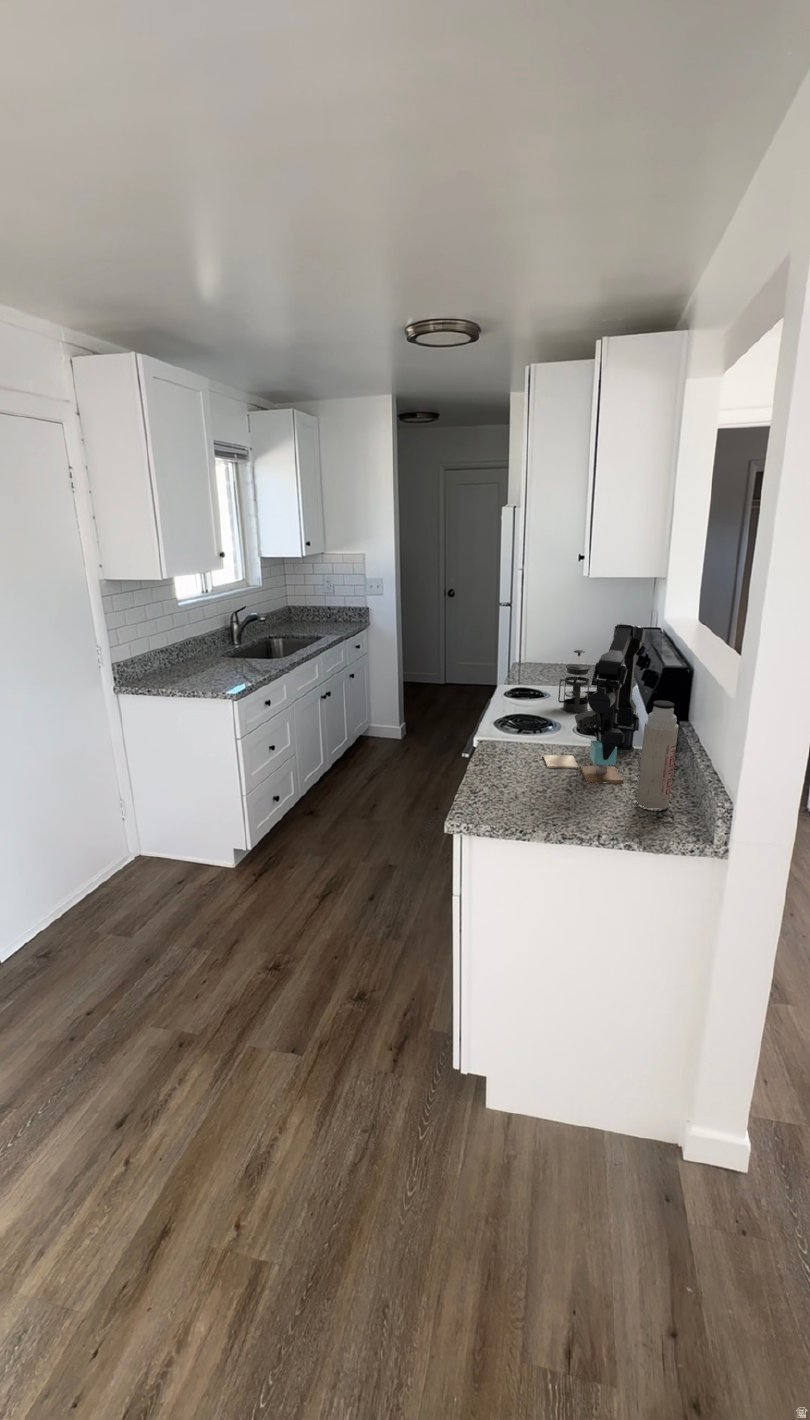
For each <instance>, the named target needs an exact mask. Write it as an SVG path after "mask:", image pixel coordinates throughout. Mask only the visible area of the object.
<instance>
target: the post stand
mask: <svg viewBox="0 0 810 1420" xmlns="http://www.w3.org/2000/svg"><path fill="white" fill-rule="evenodd" d="M595 765H596V766H595ZM595 765H591V766H590V765H580V768H579V769H580V771H581V774H582V776H583V778H584V779H585V782H586V783H587V782H588V783H589V784H590V783H591V782H592V783H591V784H600V783H599V782H614V783H613V784H624V779H623V777H622V776H621V774H620V772H619V771H618V770H617V768H616V767H615V766H614V765H612V766H611V765H609V766H608V765H601V764H595ZM593 782H595V783H593ZM596 782H597V783H596ZM615 782H616V783H615Z"/></svg>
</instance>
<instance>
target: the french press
mask: <svg viewBox="0 0 810 1420" xmlns="http://www.w3.org/2000/svg"><path fill="white" fill-rule="evenodd" d="M573 653H575V654H576V653H577V656H578V658H577V663H572V664H571V663H570V664H567V665H566V666H565V668H566V673H567V674H569V675H573V676H567V677H565V678H561V679H559V685H558V699H557V700H558V703H560V704H561V703H562V704H563V705H562V711H563V712H566V713H569V714H575V715H577V714H580V713H583V712H586V711H589V709H588V707H589V693H590V692H589V691H590V679H589V678H587V677H585V676H586V675H587V674H588V673H589V671H590V670H591V666H589V665H586V664H581V663H580V657H581V654H585V653H586V651H585V650H583V649H577V650H576V649H575V650H573ZM575 675H576V676H575ZM582 676H583V677H582ZM579 681H583V682H579ZM562 682H564V690H563V691H564V692H563V700H560V699H561V687H562V686H561V685H562ZM566 685H569V686H572V690H568V691H566V687H567V686H566ZM585 686H587V692H585V691H582V690H581V688H582V687H585ZM566 697H567V698H566ZM584 698H586V699H584Z"/></svg>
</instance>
